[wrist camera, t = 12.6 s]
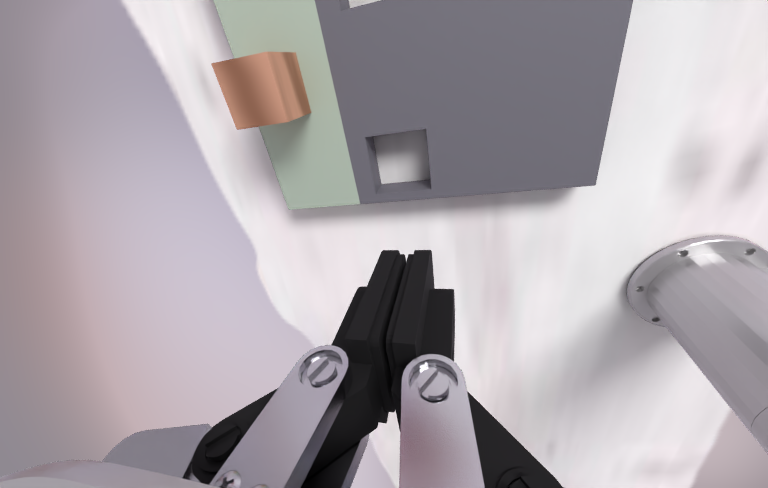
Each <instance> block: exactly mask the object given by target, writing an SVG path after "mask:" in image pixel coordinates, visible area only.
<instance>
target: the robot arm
mask: <svg viewBox="0 0 768 488" xmlns="http://www.w3.org/2000/svg"><path fill="white" fill-rule="evenodd" d="M627 297H628V301H629V303H630V305H631V307H632V308H633V309H634V311H635V312H636V313H637V314H638V315H639V316H640V317H641V318H643V319H644V320H646V321H648V322H650V323H652V324H656V325H659V326H663V327H666V328H667V329H668V330H669V331H670V333H671V334H672V335H673V336H674V338H675V339H676V340H677V341H678V343H679V344H680V345H681V346H682V348H683V349H684V350H685V351H686V353H687V354H688V355H689V356H690V358H691V359H692V360H693V361H694V363H695V364H696V365H697V366H698V368H699V369H700V370H701V372H702V373H703V374H704V375H705V377H706V378H707V379H708V380H709V382H710V383H711V384H712V385H713V387H714V388H715V389H716V390H717V392H718V393H719V394H720V395H721V397H722V398H723V399H724V400H725V402H726V403H727V404H728V405H729V407H730V408H731V409H732V410H733V412H734V413H735V414H736V416H737V417H738V418H739V419H740V421H741V422H742V423H743V424H744V425H745V427H746V428H747V429H748V431H749V432H750V433H751V434H752V435H753V437H754V438H755V439H756V440H757V441H758V443H759V444H760V445H761V447H762V448H763V449H764V450H765V452H766V453H767V454H768V252H767V251H766V250H764V249H763V248H761V247H760V246H758V245H757V244H755V243H753V242H751V241H749V240H746V239H742V238H739V237H733V236H723V235H721V236H705V237H699V238H693V239H690V240H686V241H683V242H679V243H677V244H674V245H672V246H669V247H667V248H665V249H663V250H661V251H659V252H658V253H656V254H654V255H653V256H651V257H650V258H649V259H647V260H646V261H645V262H643V263H642V265H641V266H640V267H639V268H638V269H637V270H636V271H635V272H634V274H633V275H632V277H631V278H630V281H629V284H628V286H627ZM454 338H455V305H454V289H434V276H433V262H432V252H431V250H415V251H414V254H409V255H408V258H407V262H406V258H405V255H404V254H400V253H399V251H398V250H383V251H382V252H381V255H380V257H379V259H378V262H377V264H376V266H375V269H374V271H373V274H372V276H371V278H370V281H369V283H368V285H367V287H359V288H358V289H357V291H356V293H355V295H354V297H353V300H352V302H351V304H350V306H349V308H348V310H347V313H346V315H345V317H344V319H343V321H342V323H341V326H340V328H339V330H338V332H337V334H336V337H335V339H334V341H333V343H332V345H325V346H319V347H317V348H314V349H312V350H310V351H309V352H307V353H306V354H305V355H303V356H302V357H301V358H300V359H299V361H298V362H297V363H296V364H295V366H294V367H293V369H292V370H291V371H290V373H289V374H288V376H287V377H286V378H285V380H284V381H283V383H282V384H281V385H280V387H279V388H277V389H276V390H274V391H272V392H270V393H269V394H267V395H265V396H264V397H262V398H260V399H258V400H257V401H255V402H253V403H251V404H250V405H248V406H246V407H244V408H243V409H241V410H239V411H238V412H236V413H234V414H232V415H231V416H229V417H227V418H225V419H224V420H222V421H221V422H219V423H218V424H216V425H215V426H213V427H211V426H210V425H209V424H201V425H192V426H183V427H174V428H164V429H154V430H145V431H141V432H137V433H134V434H132V435H131V436H129V437H127V438H125V439H124V440H122V441H121V442H120V443H119V444H118V445H116V446H115V447H114V448H113V449H112V450H111V451H110V453H109V454H108V455H107V456H106V457H105V458H104V459H103V461H102V462H101V461H93V460H66V461H57V462H52V463H47V464H43V465H38V466H34V467H31V468H27V469H24V470H20V471H16V472H13V473H11V474H8V475H5V476H2V477H0V488H350V487H351V484H352V482H353V479H354V477H355V474H356V472H357V469H358V467H359V464H360V461H361V459H362V456H363V453H364V451H365V448H366V446H367V443H368V439H369V433H371V432H372V431H373V430H375V429H376V428H377V426H378V422H381V423H387V418H388V413H389V412H394V411H395V409H396V414H397V419H398V424H399V429H400V432H401V434H400V478H399V488H564V487H562V486H561V484H560V483H559V482H558V481H557V480H556V478H555V477H554V476H553V475H552V474H551V473H550V472H549V471H548V470H547V469H546V468H544V467H543V466H542V465H541V464H540V463H539V462H538V461H537V460H536V459H535V458H534V457H533V456H532V455H531V454H530V453H529V452H528V451H527V450H526V449H525V448H524V447H523V446H522V445H521V444H520V443H519V442H518V441H517V440H516V439H515V438H514V437H513V436H512V435H511V434H510V433H509V432H508V431H507V430H506V429H505V428H504V427H503V426H502V425H501V424H500V423H499V422H498V421H497V420H496V419H495V418H494V417H493V416H492V415H491V414H490V413H489V412H488V411H487V410H486V409H485V408H484V407H483V406H482V405H481V404H480V403H479V402H478V401H477V400H476V399H475V398H474V397H473V396H472V395H471V394H470V393H469V392H468V391H467V388H466V382H465V378H464V375H463V372H462V370H461V369H460V368H459V366H458V365H457V364H456V363H455V362H454Z"/></svg>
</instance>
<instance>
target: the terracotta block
mask: <svg viewBox="0 0 768 488" xmlns="http://www.w3.org/2000/svg"><path fill="white" fill-rule="evenodd" d="M212 67H213V69H214V72H215V74H216V77H217V80H218V82H219V85H220V87H221V90H222V92H223V95H224V98H225V100H226V103H227V105H228V108H229V110H230V113H231V116H232V118H233V121H234V123H235V126H236V128H237V130H239V129H246V128H252V127H259V126H266V125H272V124H279V123H285V122H289V121H292V120H294V119H297V118H299V117H302V116H304V115H307V114H309V113H311V109H310V105H309V102H308V98H307V94H306V90H305V86H304V82H303V78H302V75H301V71H300V67H299V63H298V59H297V55H296V52H262V53H258V54H253V55H249V56H244V57H240V58H235V59H231V60H226V61H221V62H217V63H212Z"/></svg>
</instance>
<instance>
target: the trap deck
mask: <svg viewBox="0 0 768 488" xmlns="http://www.w3.org/2000/svg"><path fill="white" fill-rule="evenodd" d="M214 3H215V6H216V9H217V11H218V14H219V17H220V20H221V23H222V25H223V28H224V31H225V34H226V37H227V39H228V42H229V45H230V48H231V50H232V53H233V56H234V59H235V58H240V57H244V56H249V55H253V54H258V53H262V52H296V55H297V59H298V63H299V67H300V71H301V75H302V78H303V82H304V86H305V90H306V94H307V98H308V102H309V105H310V109H311V113H309V114H307V115H304V116H302V117H299V118H297V119H294V120H292V121H289V122H285V123H279V124H272V125H266V126H259V128H260V131H261V134H262V137H263V140H264V142H265V145H266V148H267V151H268V153H269V156H270V159H271V162H272V165H273V167H274V170H275V173H276V176H277V178H278V181H279V184H280V187H281V190H282V192H283V195H284V198H285V201H286V204H287V206H288V209H289V210H293V209H305V208H318V207H330V206H343V205H355V204H368V203H380V202H393V201H405V200H418V199H430V198H443V197H455V196H468V195H480V194H493V193H505V192H518V191H531V190H543V189H556V188H568V187H581V186H593V185H596V180H597V175H598V170H599V165H600V160H601V155H602V151H603V146H604V141H605V136H606V131H607V126H608V121H609V116H610V111H611V106H612V101H613V97H614V92H615V87H616V82H617V77H618V72H619V67H620V62H621V57H622V52H623V47H624V43H625V38H626V33H627V28H628V23H629V18H630V13H631V8H632V3H633V0H381V1H377V2H373V3H370V4H366V5H362V6H358V7H354V8H350V6H349V1H348V0H214ZM421 129H426V133H427V145H428V156H429V167H430V178H431V180H422V181H411V182H401V183H390V184H381V180H380V175H379V169H378V163H377V158H376V152H375V147H374V141H373V136H378V135H385V134H393V133H400V132H407V131H414V130H421Z"/></svg>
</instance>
